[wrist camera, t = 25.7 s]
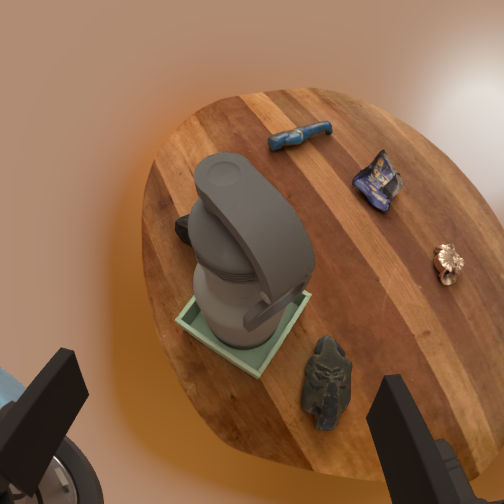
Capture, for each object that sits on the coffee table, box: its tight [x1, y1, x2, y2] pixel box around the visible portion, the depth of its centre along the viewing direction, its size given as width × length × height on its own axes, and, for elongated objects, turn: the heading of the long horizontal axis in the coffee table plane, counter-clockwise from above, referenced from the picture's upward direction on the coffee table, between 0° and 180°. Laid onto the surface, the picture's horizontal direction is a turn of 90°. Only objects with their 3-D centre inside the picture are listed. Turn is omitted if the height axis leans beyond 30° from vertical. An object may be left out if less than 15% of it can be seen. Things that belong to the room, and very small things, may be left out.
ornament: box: [434, 244, 465, 285], centre depth 45 cm, size 8×7×4 cm
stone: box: [301, 336, 352, 431], centre depth 36 cm, size 7×13×5 cm, turn 174°
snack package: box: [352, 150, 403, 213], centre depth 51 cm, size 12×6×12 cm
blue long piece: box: [268, 121, 333, 151], centre depth 57 cm, size 5×4×15 cm
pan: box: [175, 289, 312, 379], centre depth 40 cm, size 13×13×6 cm
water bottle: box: [188, 152, 315, 350], centre depth 29 cm, size 10×10×28 cm
